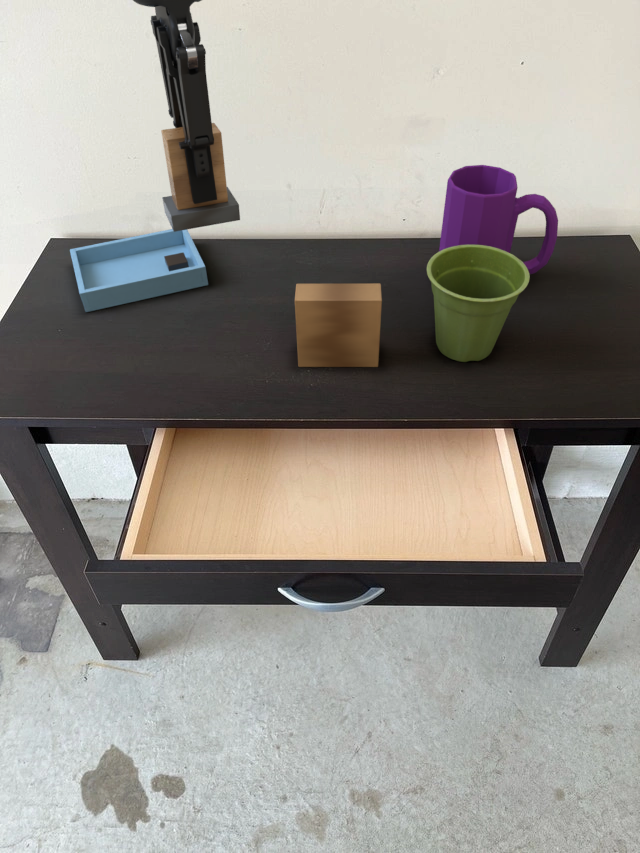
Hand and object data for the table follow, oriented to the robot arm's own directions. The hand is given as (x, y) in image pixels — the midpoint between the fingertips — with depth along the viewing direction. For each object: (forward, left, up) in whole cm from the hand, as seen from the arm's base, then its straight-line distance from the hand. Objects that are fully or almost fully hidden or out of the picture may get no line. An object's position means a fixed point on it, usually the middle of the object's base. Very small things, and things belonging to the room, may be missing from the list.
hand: (201, 193), depth 77 cm
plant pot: (+28, -18, -18) cm, 38 cm away
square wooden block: (+12, -14, -18) cm, 26 cm away
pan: (-8, +16, -18) cm, 25 cm away
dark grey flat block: (-3, +15, -18) cm, 24 cm away
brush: (0, 0, -3) cm, 3 cm away
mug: (+39, -6, -18) cm, 43 cm away
